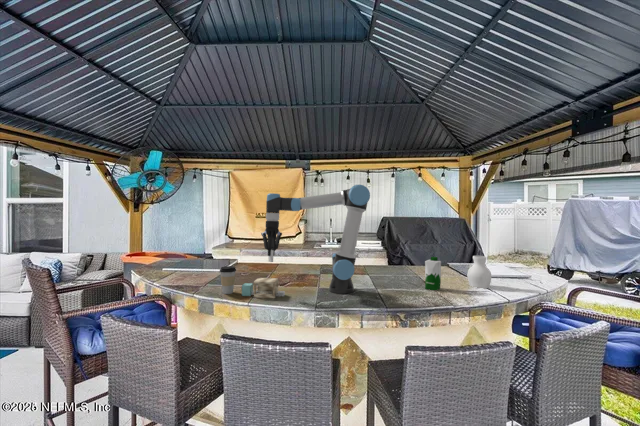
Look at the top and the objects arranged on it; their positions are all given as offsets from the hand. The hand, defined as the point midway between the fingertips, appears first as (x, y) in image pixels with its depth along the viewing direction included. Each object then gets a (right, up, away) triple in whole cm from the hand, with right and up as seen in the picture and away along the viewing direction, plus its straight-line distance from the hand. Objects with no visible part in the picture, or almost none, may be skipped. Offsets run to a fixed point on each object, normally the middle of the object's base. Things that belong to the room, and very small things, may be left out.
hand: (270, 261), depth 168 cm
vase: (+134, -21, +26) cm, 138 cm away
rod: (-2, -20, +1) cm, 20 cm away
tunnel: (-3, -20, 0) cm, 20 cm away
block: (-14, -20, +2) cm, 24 cm away
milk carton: (+100, -21, +19) cm, 104 cm away
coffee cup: (-26, -20, +5) cm, 33 cm away
